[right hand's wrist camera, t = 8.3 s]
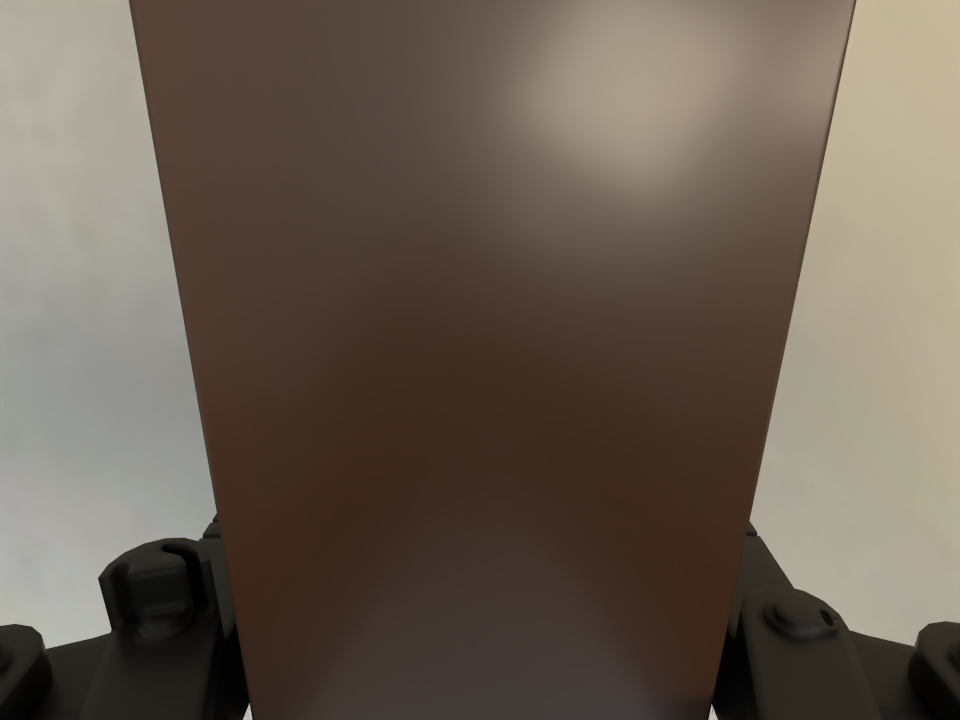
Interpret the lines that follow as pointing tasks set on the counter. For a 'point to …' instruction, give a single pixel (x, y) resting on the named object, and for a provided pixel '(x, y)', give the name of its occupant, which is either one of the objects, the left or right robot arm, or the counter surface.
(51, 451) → the counter surface
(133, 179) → the counter surface
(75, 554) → the counter surface
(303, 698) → the walnut beam
